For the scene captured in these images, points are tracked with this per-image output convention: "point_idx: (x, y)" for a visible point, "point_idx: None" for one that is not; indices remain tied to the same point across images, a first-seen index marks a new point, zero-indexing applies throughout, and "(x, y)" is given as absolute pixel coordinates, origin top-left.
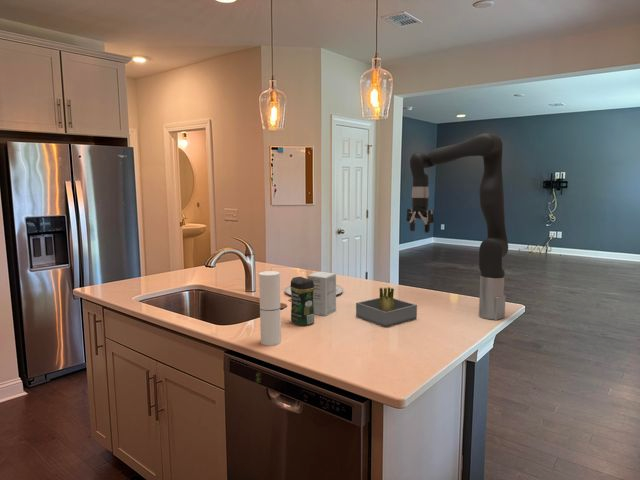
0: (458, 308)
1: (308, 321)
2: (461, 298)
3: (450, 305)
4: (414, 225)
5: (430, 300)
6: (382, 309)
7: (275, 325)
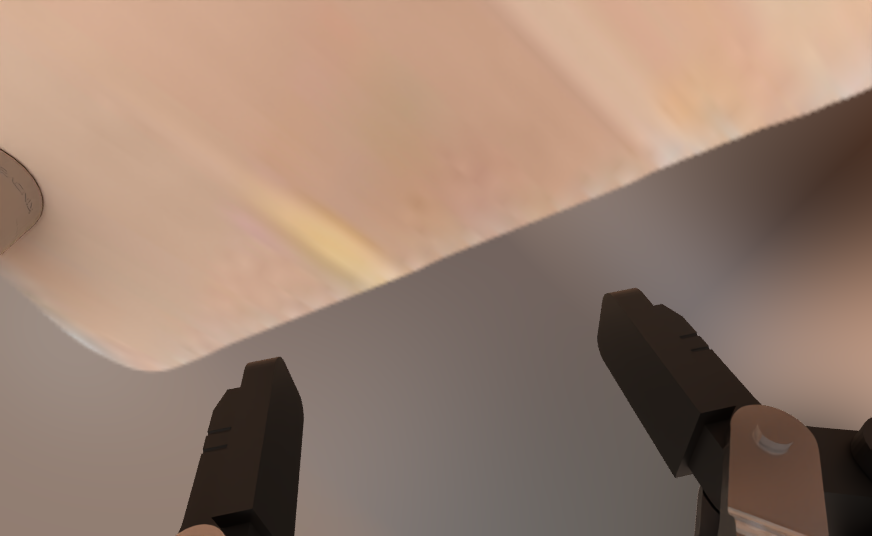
0: (160, 148)
1: None
2: (317, 268)
3: (225, 150)
4: (646, 422)
5: (349, 124)
6: None
7: None
